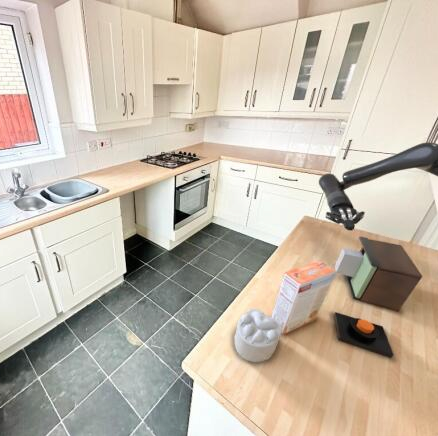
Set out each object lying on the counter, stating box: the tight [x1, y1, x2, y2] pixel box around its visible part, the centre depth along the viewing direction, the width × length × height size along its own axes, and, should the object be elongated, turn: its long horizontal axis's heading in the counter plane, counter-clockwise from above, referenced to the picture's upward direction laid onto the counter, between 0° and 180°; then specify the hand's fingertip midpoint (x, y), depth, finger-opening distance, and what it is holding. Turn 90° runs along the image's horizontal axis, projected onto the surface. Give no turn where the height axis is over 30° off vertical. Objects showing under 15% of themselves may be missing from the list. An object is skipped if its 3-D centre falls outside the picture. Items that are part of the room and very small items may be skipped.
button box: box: [333, 311, 394, 359], centre depth 72 cm, size 12×10×4 cm
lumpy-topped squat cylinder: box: [234, 308, 283, 363], centre depth 69 cm, size 10×13×9 cm
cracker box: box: [270, 260, 337, 335], centre depth 73 cm, size 14×6×21 cm, turn 111°
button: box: [356, 318, 374, 334], centre depth 71 cm, size 4×4×2 cm
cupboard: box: [345, 236, 423, 312], centre depth 86 cm, size 12×18×16 cm
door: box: [334, 247, 377, 298], centre depth 87 cm, size 7×12×14 cm, turn 153°
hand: (350, 228), depth 91 cm, fingers closed
